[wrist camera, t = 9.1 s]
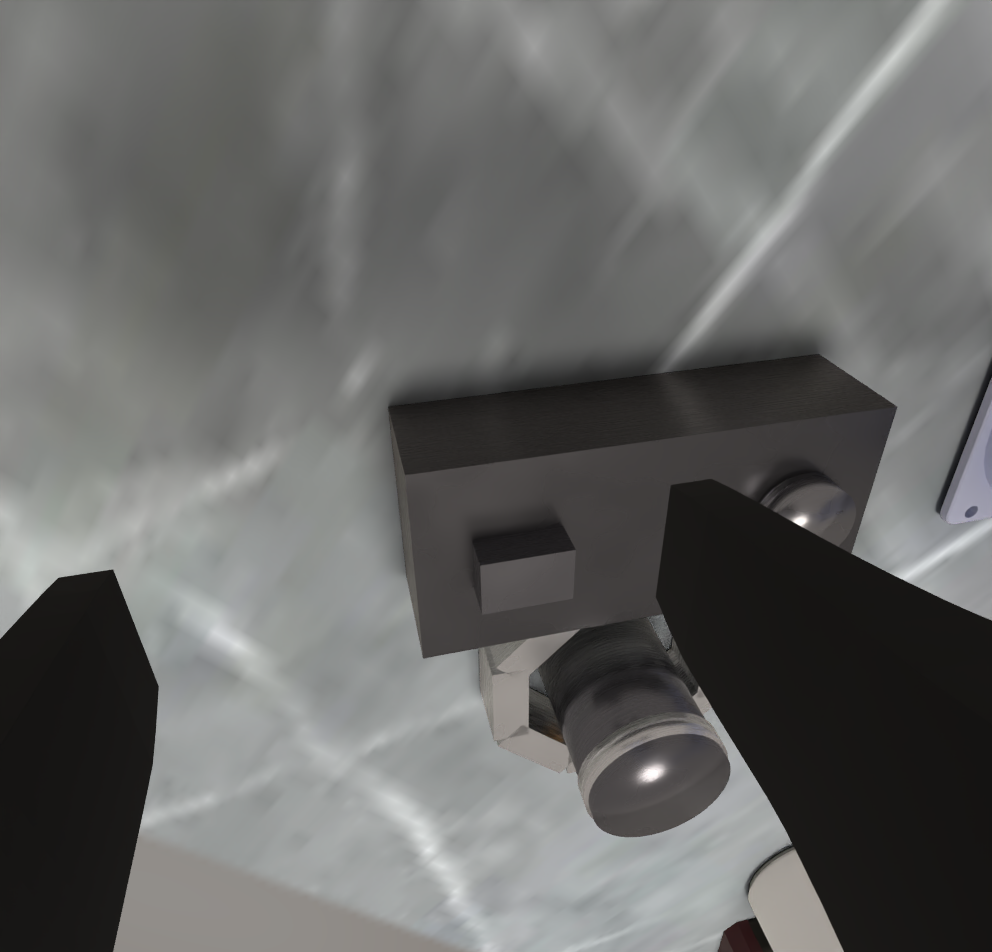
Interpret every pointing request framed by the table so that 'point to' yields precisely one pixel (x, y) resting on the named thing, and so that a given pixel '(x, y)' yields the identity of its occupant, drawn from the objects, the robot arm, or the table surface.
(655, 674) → the lens
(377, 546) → the table surface
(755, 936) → the toy gun
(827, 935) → the can
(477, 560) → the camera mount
